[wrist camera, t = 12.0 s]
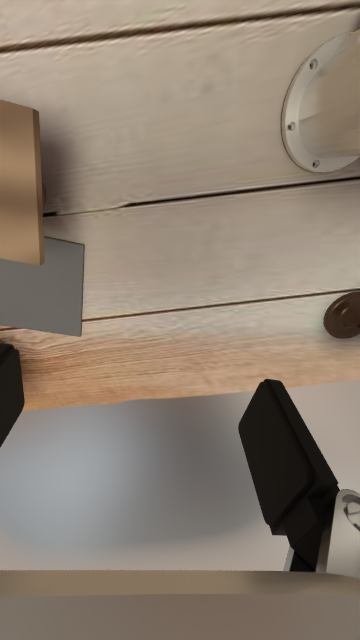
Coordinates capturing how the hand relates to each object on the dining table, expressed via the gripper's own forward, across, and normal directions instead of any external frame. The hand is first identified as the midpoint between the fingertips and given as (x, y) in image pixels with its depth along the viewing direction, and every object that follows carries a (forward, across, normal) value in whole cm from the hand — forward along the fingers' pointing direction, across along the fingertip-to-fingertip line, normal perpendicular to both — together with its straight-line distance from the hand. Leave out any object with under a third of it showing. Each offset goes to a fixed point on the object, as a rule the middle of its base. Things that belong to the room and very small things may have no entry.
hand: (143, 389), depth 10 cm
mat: (+30, +18, +12) cm, 37 cm away
